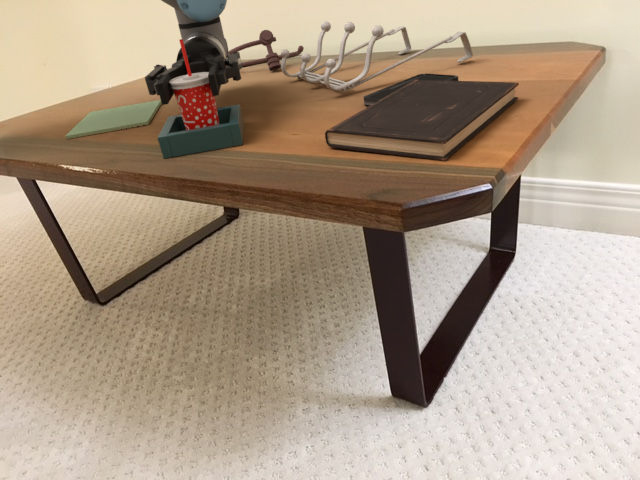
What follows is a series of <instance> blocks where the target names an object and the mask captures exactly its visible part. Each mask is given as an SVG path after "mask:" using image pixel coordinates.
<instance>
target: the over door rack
mask: <svg viewBox="0 0 640 480" xmlns="http://www.w3.org/2000/svg"><path fill="white" fill-rule="evenodd" d="M343 27H344V33H343V36H342V37H341V40H340V46H339V53H338V56H337V57H335V58H328V59H327V60H326V62H325V63H323V64H321V65H319V66H318V64H319V63H320V62H321V58H322V49H323V40H324V36H325V34H326V33H328V32H329V31H331V29H332V25H331V23H330V22H329V21H327V20H326V21H323V22H322V23H321V25H320V29H321V31H320V33H319V35H318V37H317V48H316V49H317V50H316V57H315V60H314V61H313V63H312V64H311V65H309V66H308V67H307V65H308V63H310V61H311V60H312V59H311V58H312V56H311V55H310V54H309V53H308V52H304V53H303V54H302V55H301V65H300V69H299V71H297V72H296V73H291V74H290V73H289V72H288V71H287V69H286V63H287V60H288V59H287V57H288V58H290V57H289V53H290V51H289V49H287V48H284V49H282V50H281V52H280V55H281V56H282V57H283V58H282V59H281V62H280V64H281V68H280V69H281V72H282V74H283V75H284V76H285V77H288V78H297V80H298V81H300V80H304V81H305V82H307V83H311V84H315V83H318V84H322V85H324V86H325V87H326V88H327V89H329V90H332V91H335V92H337V91H340V93H341V94H344V93H347V92H349V91H350V90H352V89H354V88H356V87H358V86H360V85H363V84H364V83H366V82H368V81H370V80H372V79H374V78H377V77H379V76H381V75H383V74H385V73H386V72H389V71H391V70H393V69H395V68H396V67H399V66H400V65H403V64H405V63H407V62H408V61H411V60H412V59H415V58H417V57H418V56H421V55H423V54H425V53H427V52H429V51H431V50H433V49H435V48H437V47H439V46H441V45H443V44H449V43H450V44H451V43H453V42H454V41H456V40H457V39H459V38H460V40H461V43H462V46H463V49H464V53H465V55H464V56H462V57H461V58H458V59H457V60H456V62H457V63H458V64H460V63H463V62H465V61H468V60H469V59H472V58H473V56H474V52H473V49H472V46H471V42H470V40H469V37H468V35H467V32H465V31H458V32H456V33H454V34H453V35H450V36H449V37H447V38H444V39H442V40H440V41H438V42H436V43H433V44H432V45H430V46H428V47H426V48H424V49H422V50H420V51H418V52H416V53H414V54H412V55H410V56H408V57H405V58H404V59H401V60H400V61H398V62H395V63H394V64H391V65H389V66H387V67H385V68H383V69H382V70H379V71H377V72H375V73H373V74H371V75H369V76H368V77H367V75H368V73H369V70H370V68H371V63H372V57H373V56H372V55H373V49H374V46H375V43H376V41H378V40H381V39H383V38H384V37H386V36H387V37H388V36H392V35H395V34H396V33H398V32H401V34H402V37H403V38H402V39H403V43H404V47H405V48H404V49H402V50H400V51H398V53H397V55H398V56H401V55H404V54H406V53H409V51H411V50H412V45H411V40H410V37H409V33H408V29H407V27H406V26H398V27H397V28H395V29H394V28H392V29H390V30H388V31H387V32H385V30H384V27H383V26H381V24H380V25H379V24H376V25H375V26H373V27H372V29H371V34H372V36H371V37H370V39H369V40H368V41H366V42H364V43H362V44H360V45H358V46H357V47H353V49H351V50H349V51H347V52H346V51H345V50H346V45H347V40H348V38H349V36H350V34H353V33H354V32H355V30H356V25H355V23H353V22H352V21H348V22H346V23H345V24H344V26H343ZM363 48H366V54H365V55H366V56H365V61H364V67H363V69H362V71H361V73H359V74H358V76H356V77H354V78H352V79H351V80H348V81H344V80H340V79H336V78H334V77H333V78H332V77H330V76H332V75H334V74H336V73H337V72H338V71H339V70H340V69H341V67H342V65H343V63H344V58H345V57H347V56H349V55H351V54H353V53H354V52H355V53H356V52H358V51H359V50H361V49H363ZM325 67H326V68H325ZM324 68H325V71H324V73H323V74H318V73H315V72H317V71H319V70H322V69H324Z"/></svg>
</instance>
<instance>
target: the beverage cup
mask: <svg viewBox="0 0 640 480" xmlns="http://www.w3.org/2000/svg"><path fill="white" fill-rule="evenodd" d="M178 41H179V44H180V48H181V49H182V53H183V56H184V60H185V64H186V68H187V72H188V74H187V75H183V76H179V77H176V78H174V79H172V80H170V81H169V85H170V88H171V89H173V92H174V94H173V96H174V98H175V101H176V104H177V106H178V107H177V108H178V109H179V113H180V115H181V116H182V119H183V122H184V125H185V128H186V130H191V129H197V128H202V127H208V126H214V125H220V123H219V117H218V111H217V108H218V106H217V100H216V96H213V95H212V91H211V86H210V82H209V78H208V74H209V72H200V73H193V74H191V70H190V66H189V62H188V58H187V54H186V50H185V46H184V42H183V39H182V38H180V39H179V40H178Z"/></svg>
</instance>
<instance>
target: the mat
mask: <svg viewBox="0 0 640 480" xmlns="http://www.w3.org/2000/svg"><path fill="white" fill-rule="evenodd" d="M161 105H162V102H161V99H156V100H152V101H146V102H140V103H134V104H127V105H123V106H117V107H111V108H106V109H98V110H93V111H89V112H88V114H87V115H85V116H84V117H83V118H82V119H81V120H80V121H79V122H78V123H77V124H76V125H74V127H73V128H72V129H71V130H70V131H69V132H67V133H66V134H65V136H64V137H65V139H66V140H70V139H75V138H81V137H86V136H92V135H93V136H94V135H99V134H103V133H109V132H115V131H121V129H122V130H126V128H127V129H132V127H133V128H138V127H137V126H139V127H144V126H143V125H145V126H149V125H150V124H151V121H153V119H154V117H155V115H156V113H157V112H158V110H159V108H160V107H161Z"/></svg>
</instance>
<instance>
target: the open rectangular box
mask: <svg viewBox="0 0 640 480" xmlns="http://www.w3.org/2000/svg"><path fill="white" fill-rule="evenodd" d="M217 111H218V117H219V123H220V125H214V126H208V127H202V128H197V129H191V130H186V128H185V125H184V122H183V119H182V116H181V114H177V115H169V116H167V119H166V121H165V123H164V125H163V127H161V130H160V132H159V134H158V136H157V142H158V144H159V145H158V146H159V147H160V151H161V154H162V158H163V159H164V160H165V159H170V158H171V159H172V158H175V157H182V156H187V155H192V154H198V153H204V152H209V151H215V150H220V149H227V148H232V147H237V146H243V145H244V135H245V134H244V133H245V122H244V121H245V120H244V116H243V112H242V108H241V104H240V103H238V104H232V105H227V106H221V107H217Z"/></svg>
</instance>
